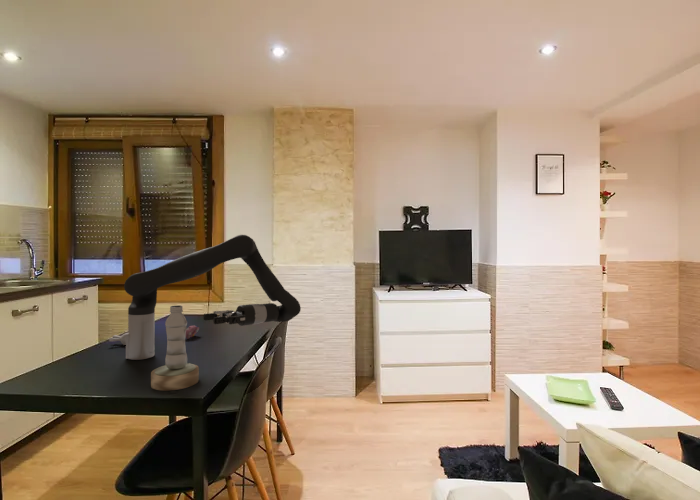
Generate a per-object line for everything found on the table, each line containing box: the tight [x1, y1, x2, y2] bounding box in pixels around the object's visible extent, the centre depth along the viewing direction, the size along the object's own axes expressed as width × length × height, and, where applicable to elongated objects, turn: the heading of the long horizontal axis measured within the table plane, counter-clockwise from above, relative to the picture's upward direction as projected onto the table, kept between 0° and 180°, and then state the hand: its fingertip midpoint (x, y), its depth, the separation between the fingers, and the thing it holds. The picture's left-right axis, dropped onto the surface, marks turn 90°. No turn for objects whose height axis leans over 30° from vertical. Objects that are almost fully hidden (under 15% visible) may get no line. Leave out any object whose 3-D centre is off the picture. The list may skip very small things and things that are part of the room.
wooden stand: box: [150, 362, 200, 392], centre depth 125 cm, size 14×14×4 cm
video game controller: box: [185, 324, 200, 340], centre depth 187 cm, size 10×5×7 cm, turn 170°
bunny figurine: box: [108, 332, 128, 346], centre depth 174 cm, size 10×5×15 cm
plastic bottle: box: [164, 304, 188, 369], centre depth 125 cm, size 6×7×20 cm
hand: (208, 319), depth 134 cm, fingers open, 8 cm apart
